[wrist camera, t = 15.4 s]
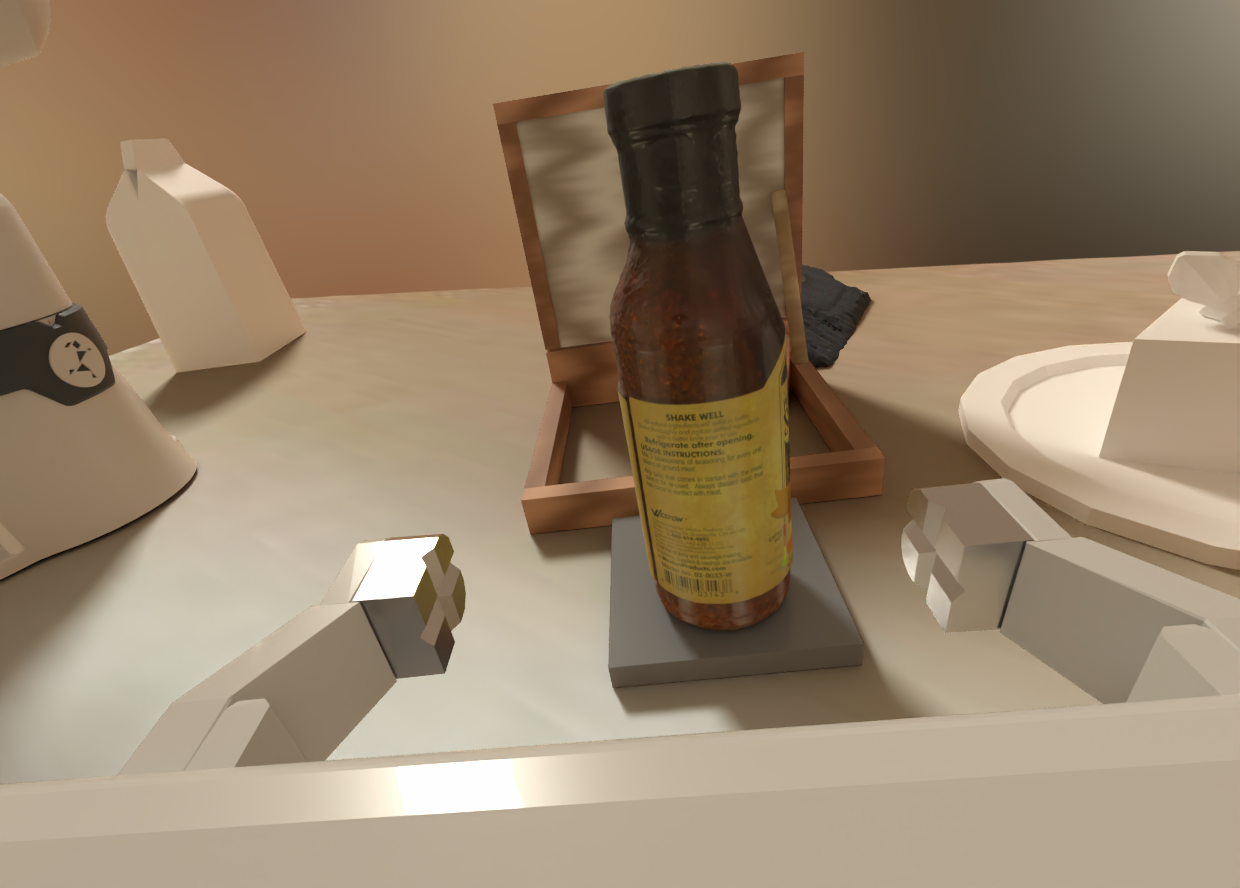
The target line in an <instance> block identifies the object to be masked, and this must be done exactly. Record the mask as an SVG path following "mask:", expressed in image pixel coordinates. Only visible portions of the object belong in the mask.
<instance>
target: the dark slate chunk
mask: <svg viewBox="0 0 1240 888" xmlns="http://www.w3.org/2000/svg"><path fill="white" fill-rule="evenodd" d="M870 301H871V299H870V297H869V295H868V293H867V292H863V291H861V290H859V289H858V288H856V287H849V286H846V285H844V284H843V283H841V282H839V281H837V280H835V279H834V277H833V276H832V275H830V274H828V273H826V272H825V271H824V270H822V269H818V268H814V267H809V266H804V265H802V293H801V308H802V316H803V323H804V331H805V338H806V346H807V354H808V360H809V361H810V362H811V364H812V365H813V366H814V367H819V366H825V367H828V366H830V365H831V364H833V361H835V360H837V359H838V357H839V351H840V350H841V349H843V348H844V345H846V344H847V340H848V339H849V338H850V337H851V335H852V334H853V333H854V330H855V329H856V325H858V322H859V321H860V320H861V317H862V315H863V313H864V311H865V309H866V307H867V306H868V305H869V302H870Z"/></svg>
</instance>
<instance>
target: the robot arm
mask: <svg viewBox="0 0 1240 888" xmlns="http://www.w3.org/2000/svg"><path fill="white" fill-rule="evenodd" d="M49 27H50V3H49V0H0V66H3V65H7V64H11V63H14V62H18V61H21V60H25V59H29V58H33V57H36V56H38V55H39V54H40V52H41V50H42V49H43V47H44V45H45V42H46V39H47V36H48V32H49ZM196 468H197V463H196V461H195V460H194V459H193V458H192V457H191V456H190V455H189V454H187V453H186V452H185V451H184V450H183V449H182V444H181V443H180V442H179V440H178V439H177V438H176V437H175V436H173V435H169V433H168V432H167V431H166V430H165V429H164V428H163V426H162V425H161V424H160V423H159V421H158V420H157V419H156V417H155V416H154V415H153V413H152V412H151V411H150V410H149V408H148V407H147V406H146V404H145V403H144V402H143V400H142V399H141V398H140V397H139V395H138V394H137V393H136V391H135V390H134V389H133V387H132V386H131V385H130V384H129V382H128V381H127V380H126V378H125V377H124V376H123V375H122V374H121V373H120V372H119V371H118V370H117V369H115V368H114V367H113V366H112V365H111V362H110V359H109V356H108V353H107V345H106V344H105V342H104V340H103V339H102V337H101V335H100V334H99V332H98V331H97V327H96V325H95V323H94V322H93V320H91V319H90V318H89V317H88V315H87V313H86V312H85V310H84V309H83V307H82V306H81V305H78V304H75V303H72V302H71V301H70V299H69V298H68V296H67V294H66V292H65V291H64V289H63V288H62V286H61V284H60V283H59V281H58V279H57V278H56V276H55V274H54V273H53V271H52V269H51V268H50V266H49V264H48V263H47V261H46V259H45V258H44V256H43V254H42V253H41V251H40V249H39V248H38V246H37V244H36V243H35V241H34V240H33V238H32V236H31V235H30V233H29V231H28V230H27V228H26V226H25V225H24V223H23V221H22V220H21V218H20V216H19V215H18V213H17V211H16V210H15V208H14V206H13V205H12V204H11V203H10V202H9V201H8V200H7V199H6V198H5V197H4V196H3V195H2V194H1V193H0V579H3V578H5V577H7V576H9V575H11V574H13V573H15V572H17V571H19V570H21V569H23V568H25V567H27V566H29V565H31V564H33V563H35V562H37V561H39V560H41V559H44V558H46V557H48V556H51V555H54V554H56V553H59V552H62V551H64V550H67V549H70V548H72V547H75V546H78V545H80V544H83V543H85V542H88V541H90V540H93V539H95V538H97V537H100V536H102V535H104V534H106V533H108V532H111V531H113V530H115V529H117V528H119V527H121V526H123V525H125V524H127V523H129V522H131V521H133V520H135V519H136V518H138V517H140V516H142V515H143V514H145V513H147V512H149V511H150V510H152V509H154V508H155V507H157V506H158V505H160V504H161V503H163V502H164V501H166V500H167V499H169V498H170V497H171V496H173V495H174V494H175V493H176V492H178V491H179V490H180V489H181V488H182V487H183V486H184V485H185V484H186V483H187V482H188V481H189V480H190V479H191V478H192V476H193V475H194V473H195V471H196ZM906 510H907V511H908V512H909V514H910V515H911V517H912V518H913V519H912V520H911V521H910V522H909V523H908V524H907V525H906V526H905V527H904V528H903V531H902V540H901V549H902V556H903V561H904V564H905V567H906V569H907V572H908V573H909V575H910V577H911V579H912V580H913V582H914V583H916V584H917V585H919V586H921V587H922V588H924V589H926V590H928V593H927V598H926V603H927V605H928V606H929V608H930V610H931V611H932V613H933V614H934V616H935V617H936V619H937V621H938V622H939V624H940V625H941V627H942V629H943V630H944V632H945V633H949V632H967V631H985V630H1000V633H1002V634H1003V635H1005V636H1006V637H1007V638H1009V639H1010V640H1012V641H1013V642H1015V643H1016V644H1018V645H1019V646H1020V647H1022V648H1023V649H1025V650H1026V651H1028V652H1029V653H1031V654H1032V655H1033V656H1035V657H1036V658H1038V659H1039V660H1041V661H1042V662H1044V663H1045V664H1046V665H1048V666H1049V667H1051V668H1052V669H1054V670H1055V671H1057V672H1058V673H1059V674H1061V675H1062V676H1064V677H1065V678H1067V679H1068V680H1070V681H1071V682H1072V683H1074V684H1075V685H1077V686H1078V687H1080V688H1081V689H1083V690H1084V691H1085V692H1087V693H1088V694H1090V695H1091V696H1093V697H1094V698H1096V699H1097V700H1098V701H1100V702H1101V703H1103V704H1097V705H1084V706H1070V707H1057V708H1043V709H1029V710H1016V711H1002V712H988V713H975V714H961V715H947V716H933V717H919V718H905V719H892V720H878V721H864V722H850V723H836V724H822V725H808V726H794V727H781V728H767V729H753V730H740V731H726V732H712V733H699V734H685V735H671V736H657V737H644V738H630V739H616V740H603V741H589V742H575V743H562V744H548V745H534V746H520V747H507V748H493V749H479V750H466V751H452V752H438V753H425V754H411V755H397V756H383V757H370V758H356V759H342V760H329V761H325V760H326V759H327V757H328V756H329V755H330V754H331V753H332V752H333V751H334V750H335V749H336V748H337V747H338V745H339V744H340V743H341V742H342V741H343V740H344V739H345V738H346V737H347V736H348V734H349V733H350V732H351V731H352V730H353V729H354V728H355V727H356V726H357V725H358V723H359V722H360V721H361V720H362V719H363V718H364V717H365V716H366V715H367V714H368V712H369V711H370V710H371V709H372V708H373V707H374V706H375V705H376V704H377V703H378V701H379V700H380V699H381V698H382V697H383V696H384V695H385V694H386V693H387V692H388V690H389V689H390V688H391V687H392V686H393V685H394V684H395V683H396V682H397V680H396V679H398V678H407V677H416V676H425V675H434V674H444V673H445V671H446V668H447V665H448V662H449V659H450V656H451V652H452V649H453V646H454V643H455V641H454V638H453V636H452V633H451V631H452V630H453V629H454V628H455V627H456V626H457V625H458V624H459V623H460V622H461V620H462V617H463V613H464V610H465V595H466V592H465V586H464V580H463V577H462V574H461V571H460V570H459V569H458V568H457V567H455V566H454V565H453V564H451V563H450V561H451V558H452V555H453V552H454V550H453V548H452V545H451V543H450V540H449V538H448V537H447V536H446V535H444V534H435V535H421V536H408V537H394V538H390V539H388V538H384V539H373V540H364V541H362V542H360V543H358V544H357V545H356V547H355V548H354V550H353V551H352V553H351V555H350V556H349V558H348V560H347V561H346V563H345V565H344V566H343V568H342V570H341V571H340V573H339V574H338V576H337V578H336V579H335V581H334V583H333V584H332V586H331V588H330V589H329V591H328V593H327V594H326V596H325V597H324V599H323V601H322V602H321V604H320V605H318V606H311V607H309V608H308V609H306V610H305V611H303V612H302V613H301V614H299V615H298V616H296V617H295V618H293V619H292V620H291V621H289V622H288V623H286V624H285V625H283V626H282V627H281V628H279V629H278V630H276V631H275V632H273V633H272V634H271V635H269V636H268V637H266V638H265V639H263V640H262V641H260V642H259V643H258V644H256V645H255V646H253V647H252V648H250V649H249V650H248V651H246V652H245V653H243V654H242V655H240V656H239V657H238V658H236V659H235V660H233V661H232V662H230V663H229V664H228V665H226V666H225V667H223V668H222V669H220V670H219V671H217V672H216V673H215V674H213V675H212V676H210V677H209V678H207V679H206V680H205V681H203V682H202V683H200V684H199V685H197V686H196V687H195V688H193V689H192V690H190V691H189V692H187V693H186V694H184V695H183V696H182V697H180V698H179V699H177V700H176V701H174V702H173V703H172V704H171V705H170V706H169V707H168V709H167V710H166V711H165V713H164V714H163V715H162V717H161V718H160V719H159V721H158V722H157V723H156V725H155V726H154V727H153V729H152V730H151V731H150V733H149V734H148V735H147V737H146V738H145V739H144V741H143V742H142V743H141V745H140V746H139V747H138V748H137V750H136V751H135V752H134V754H133V755H132V756H131V758H130V759H129V760H128V762H127V763H126V764H125V766H124V767H123V768H122V770H121V771H120V772H119V774H118V775H117V776H109V777H95V778H82V779H68V780H54V781H40V782H27V783H13V784H0V888H1240V599H1238V598H1235V597H1233V596H1230V595H1228V594H1225V593H1223V592H1220V591H1218V590H1215V589H1213V588H1210V587H1208V586H1205V585H1203V584H1200V583H1198V582H1195V581H1193V580H1190V579H1188V578H1185V577H1182V576H1180V575H1177V574H1175V573H1172V572H1170V571H1167V570H1165V569H1162V568H1160V567H1157V566H1155V565H1152V564H1150V563H1147V562H1145V561H1142V560H1140V559H1137V558H1135V557H1132V556H1130V555H1127V554H1125V553H1122V552H1119V551H1117V550H1114V549H1112V548H1109V547H1107V546H1104V545H1102V544H1099V543H1097V542H1094V541H1092V540H1089V539H1087V538H1084V537H1074V538H1072V537H1071V536H1070V535H1069V534H1068V533H1067V532H1066V531H1065V530H1064V529H1063V528H1061V527H1060V526H1059V525H1058V524H1057V523H1056V522H1055V521H1054V520H1053V519H1052V518H1051V517H1050V516H1049V515H1048V514H1047V513H1046V512H1045V511H1044V510H1042V509H1041V508H1040V507H1039V506H1038V505H1037V504H1036V503H1035V502H1034V501H1033V500H1032V499H1031V498H1030V497H1029V496H1028V495H1027V494H1026V493H1025V492H1023V491H1022V490H1021V489H1020V488H1019V487H1018V486H1017V485H1016V484H1015V483H1014V482H1013V481H1011V480H1008V479H1005V478H1001V479H993V480H985V481H977V482H973V483H968V484H958V485H948V486H938V487H928V488H918V489H912V490H911V492H910V494H909V496H908V500H907V505H906Z"/></svg>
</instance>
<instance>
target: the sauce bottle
mask: <svg viewBox="0 0 1240 888" xmlns="http://www.w3.org/2000/svg"><path fill="white" fill-rule="evenodd" d="M603 96H604V108H605V115H606V122H607V132H608V134H609V136H610V137H611V140H612V142H613V144H614V146H615V148H616V150H617V153H618V161H619V166H620V174H621V181H622V188H623V194H624V200H625V208H626V218H625V222H624V224H625V228H626V231H627V233H628V235H629V239H630V246H629V249H628V256H627V261H626V264H625V266H624V269H623V271H622V273H621V275H620V279H619V282H618V284H617V286H616V289H615V291H614V294H613V297H612V302H611V305H610V316H609V318H610V330H611V337H612V341H613V347H614V352H615V359H616V364H617V370H618V376H619V381H618V394H619V400H620V406H621V412H622V417H623V423H624V428H625V434H626V439H627V445H628V451H629V456H630V462H631V468H632V474H633V480H634V486H635V491H636V497H637V502H638V508H639V513H640V519H641V525H642V530H643V536H644V541H645V547H646V552H647V558H648V564H649V569H650V573H651V575H652V578H653V580H654V581H655V586H656V589H657V593H658V595H659V597H660V599H661V602H662V603H663V605H664V606H665V608H666V610H667V611H668V612H670V613H671V614H672V615H673V616H674V617H676V618H678V619H679V620H681V621H684V622H686V623H687V624H692V625H695V626H697V627H699V628H701V629H706V630H716V631H720V630H729V631H735V630H738V629H741V628H745V627H748V626H753V625H754V624H756V623H758V622H759V621H762V620H764V619H766V618H768V617H769V616H770V615H772V614H773V613H774V612H775V611H776V610H778V609H779V608H780V606H781V605H782V603H783V600H784V599H785V596H786V594H787V592H788V590H789V586H790V568H791V565H792V562H793V547H792V518H791V488H790V457H789V454H790V449H789V411H788V394H787V364H786V333H785V325H784V322H783V319H782V317H781V314H780V312H779V309H778V307H777V304H776V302H775V299H774V296H773V294H772V291H771V289H770V286H769V284H768V281H767V279H766V276H765V274H764V271H763V269H762V266H761V264H760V261H759V258H758V256H757V253H756V251H755V248H754V245H753V243H752V240H751V237H750V235H749V232H748V230H747V227H746V224H745V222H744V219H743V216H742V212H743V203H742V200H741V198H740V188H739V169H738V160H737V157H738V151H737V144H736V137H737V135H736V131H735V126H736V124H737V122H738V120H739V114H740V111H741V100H740V90H739V75H738V71H737V69H736V67H735V66H734V65H733V64H731V63H727V62H720V63H710V64H703V65H694V66H689V67H682V68H679V69H672V70H667V71H663V72H658V73H652V74H647V75H642V76H639V77H635V78H631V79H628V80H624V81H620V82H616V83H614V84H612V85H610V86H608V87H607V88H606V89H605V90H604V93H603Z"/></svg>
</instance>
